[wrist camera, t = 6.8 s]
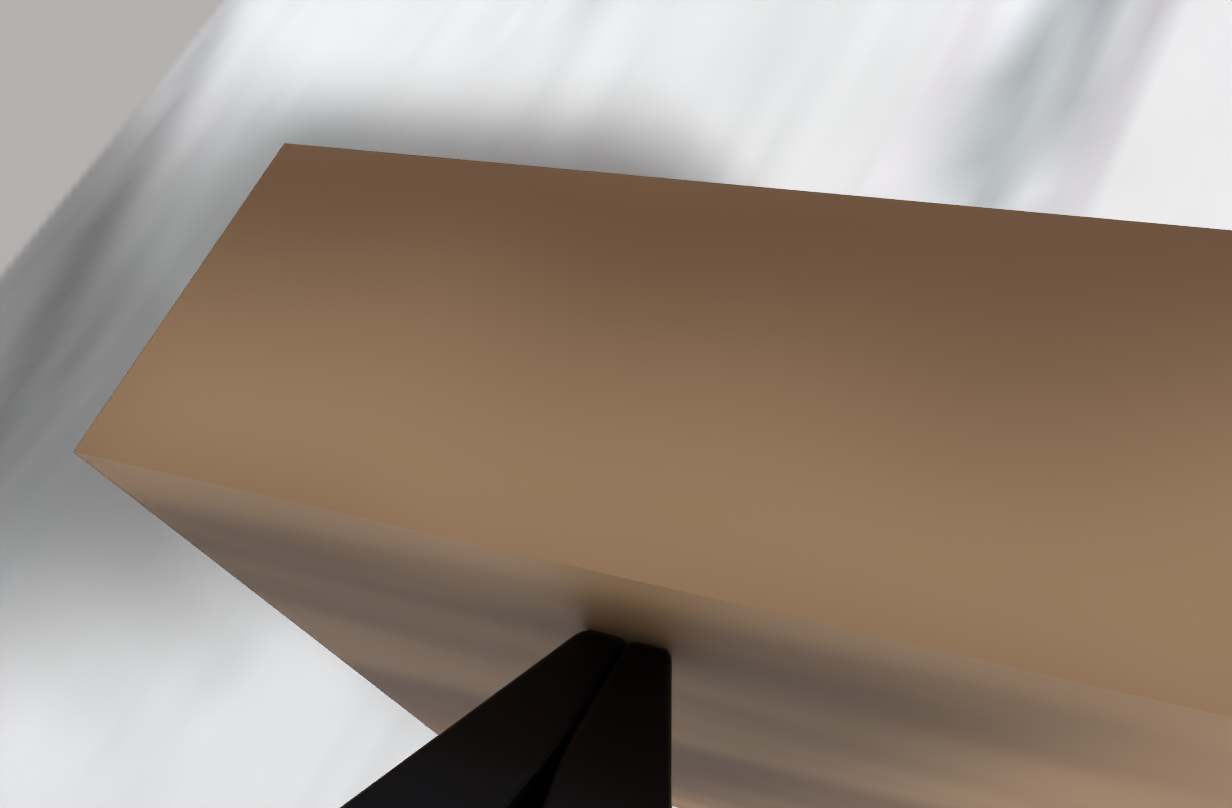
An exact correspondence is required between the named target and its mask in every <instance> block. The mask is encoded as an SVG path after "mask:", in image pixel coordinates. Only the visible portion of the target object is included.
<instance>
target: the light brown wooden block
mask: <svg viewBox="0 0 1232 808" xmlns="http://www.w3.org/2000/svg"><path fill="white" fill-rule="evenodd" d="M74 453H76V454H77V455H78V456H80V457H81V458H82V459H83V460H85V461H86V462H87V463H89V464H90V465H91V466H92V467H94V468H95V469H96V470H98V471H99V472H100V473H101V474H103V475H104V476H105V477H107V478H108V479H109V480H111V481H112V482H113V483H114V484H116V485H117V486H118V487H120V488H121V489H122V490H123V491H125V492H126V493H127V494H129V495H130V496H131V497H132V498H134V499H135V500H136V501H138V502H139V503H140V504H141V505H143V506H144V507H145V508H147V509H148V510H149V511H150V512H152V513H153V514H154V515H156V516H157V517H158V518H159V519H161V520H162V521H163V522H165V523H166V524H167V525H168V526H170V527H171V528H172V529H174V530H175V531H176V532H177V533H179V534H180V535H181V536H183V537H184V538H185V539H187V540H188V541H189V542H190V543H192V544H193V545H194V546H196V547H197V548H198V549H199V550H201V551H202V552H203V553H205V554H206V555H207V556H208V557H210V558H211V559H212V560H214V561H215V562H216V563H217V564H219V565H220V566H221V567H223V568H224V569H225V570H226V571H228V572H229V573H230V574H232V575H233V576H234V577H235V578H237V579H238V580H239V581H241V582H242V583H243V584H244V585H246V586H247V587H248V588H250V589H251V590H252V591H254V592H255V593H256V594H257V595H259V596H260V597H261V598H263V599H264V600H265V601H266V602H268V603H269V604H270V605H272V606H273V607H274V608H275V609H277V610H278V611H279V612H281V613H282V614H283V615H284V616H286V617H287V618H288V619H290V620H291V621H292V622H293V623H295V624H296V625H297V626H299V627H300V628H301V629H302V630H304V631H305V632H306V633H308V634H309V635H310V636H311V637H313V638H314V639H315V640H317V641H318V642H319V643H320V644H322V645H323V646H324V647H326V648H327V649H328V650H330V651H331V652H332V653H333V654H335V655H336V656H337V657H339V658H340V659H341V660H342V661H344V662H345V663H346V664H348V665H349V666H350V667H351V668H353V669H354V670H355V671H357V672H358V673H359V674H360V675H362V676H363V677H364V678H366V679H367V680H368V681H369V682H371V683H372V684H373V685H375V686H376V687H377V688H378V689H380V690H381V691H382V692H384V693H385V694H386V695H387V696H389V697H390V698H391V699H393V700H394V701H395V702H396V703H398V704H399V705H400V706H402V707H403V708H404V709H406V710H407V711H408V712H409V713H411V714H412V715H413V716H415V717H416V718H417V719H418V720H420V721H421V722H422V723H424V724H425V725H426V726H427V727H429V728H430V729H431V730H433V731H434V732H435V733H436V734H438V735H439V734H441V733H442V732H443V731H445V730H446V729H447V728H449V727H450V726H452V725H453V724H454V723H456V722H457V721H458V720H460V719H461V718H462V717H464V716H465V715H466V714H468V713H469V712H471V711H472V710H473V709H475V708H476V707H477V706H479V705H480V704H481V703H483V702H484V701H485V700H487V699H488V698H490V697H491V696H492V695H494V694H495V693H496V692H498V691H499V690H500V689H502V688H503V687H504V686H506V685H507V684H509V683H510V682H511V681H513V680H514V679H515V678H517V677H518V676H519V675H521V674H522V673H523V672H525V671H526V670H527V669H529V668H530V667H532V666H533V665H534V664H536V663H537V662H538V661H540V660H541V659H542V658H544V657H545V656H546V655H548V654H549V653H551V652H552V651H553V650H555V649H556V648H557V647H559V646H560V645H561V644H563V643H564V642H565V641H567V640H568V639H570V638H571V637H572V636H574V635H575V634H577V633H579V632H581V631H592V632H596V633H600V634H604V635H608V636H612V637H616V638H619V639H621V640H623V641H624V642H625V644H626V645H627V644H629V643H631V642H636V643H640V644H644V645H648V646H652V647H656V648H660V649H664V650H667V651H668V652H669V653H670V654H671V656H672V806H675V807H679V808H1232V230H1221V229H1210V228H1199V227H1189V226H1178V225H1167V224H1156V223H1145V222H1134V221H1123V220H1112V219H1102V218H1091V217H1080V216H1069V215H1058V214H1047V213H1036V212H1025V211H1014V210H1004V209H993V208H982V207H971V206H960V205H949V204H938V203H927V202H917V201H906V200H895V199H884V198H873V197H862V196H851V195H840V194H829V193H819V192H808V191H797V190H786V189H775V188H764V187H753V186H742V185H732V184H721V183H710V182H699V181H688V180H677V179H666V178H655V177H645V176H634V175H623V174H612V173H601V172H590V171H579V170H568V169H557V168H547V167H536V166H525V165H514V164H503V163H492V162H481V161H470V160H460V159H449V158H438V157H427V156H416V155H405V154H394V153H383V152H372V151H362V150H351V149H340V148H329V147H318V146H307V145H296V144H285V143H284V145H283V146H282V148H281V149H280V151H279V152H278V154H277V155H276V157H275V158H274V159H273V161H272V162H271V164H270V165H269V167H268V168H267V170H266V171H265V173H264V174H263V176H262V177H261V178H260V180H259V181H258V183H257V184H256V186H255V187H254V189H253V190H252V192H251V193H250V195H249V196H248V197H247V199H246V200H245V202H244V203H243V205H242V206H241V208H240V209H239V211H238V212H237V214H236V215H235V216H234V218H233V219H232V221H231V222H230V224H229V225H228V227H227V228H226V230H225V231H224V233H223V234H222V235H221V237H220V238H219V240H218V241H217V243H216V244H215V246H214V247H213V249H212V250H211V251H210V253H209V254H208V256H207V257H206V259H205V260H204V262H203V263H202V265H201V266H200V268H199V269H198V270H197V272H196V273H195V275H194V276H193V278H192V279H191V281H190V282H189V284H188V285H187V287H186V288H185V289H184V291H183V292H182V294H181V295H180V297H179V298H178V300H177V301H176V303H175V304H174V306H173V307H172V308H171V310H170V311H169V313H168V314H167V316H166V317H165V319H164V320H163V322H162V323H161V325H160V326H159V327H158V329H157V330H156V332H155V333H154V335H153V336H152V338H151V339H150V341H149V342H148V344H147V345H146V346H145V348H144V349H143V351H142V352H141V354H140V355H139V357H138V358H137V360H136V361H135V363H134V364H133V365H132V367H131V368H130V370H129V371H128V373H127V374H126V376H125V377H124V379H123V380H122V382H121V383H120V384H119V386H118V387H117V389H116V390H115V392H114V393H113V395H112V396H111V398H110V399H109V401H108V402H107V403H106V405H105V406H104V408H103V409H102V411H101V412H100V414H99V415H98V417H97V418H96V420H95V421H94V422H93V424H92V425H91V427H90V428H89V430H88V431H87V433H86V434H85V436H84V437H83V439H82V440H81V441H80V443H79V444H78V446H77V447H76V449H75V450H74Z"/></svg>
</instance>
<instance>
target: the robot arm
mask: <svg viewBox="0 0 1232 808" xmlns="http://www.w3.org/2000/svg"><path fill="white" fill-rule="evenodd" d="M340 808H672V656H671V654H670V653H669V652H668V651H667V650H664V649H660V648H656V647H652V646H648V645H644V644H640V643H636V642H631V643H629V644H627V645H626V644H625V642H624V641H623V640H621V639H619V638H616V637H612V636H608V635H604V634H600V633H596V632H592V631H581V632H579V633H577V634H575V635H574V636H572V637H571V638H570V639H568V640H567V641H565V642H564V643H563V644H561V645H560V646H559V647H557V648H556V649H555V650H553V651H552V652H551V653H549V654H548V655H546V656H545V657H544V658H542V659H541V660H540V661H538V662H537V663H536V664H534V665H533V666H532V667H530V668H529V669H527V670H526V671H525V672H523V673H522V674H521V675H519V676H518V677H517V678H515V679H514V680H513V681H511V682H510V683H509V684H507V685H506V686H504V687H503V688H502V689H500V690H499V691H498V692H496V693H495V694H494V695H492V696H491V697H490V698H488V699H487V700H485V701H484V702H483V703H481V704H480V705H479V706H477V707H476V708H475V709H473V710H472V711H471V712H469V713H468V714H466V715H465V716H464V717H462V718H461V719H460V720H458V721H457V722H456V723H454V724H453V725H452V726H450V727H449V728H447V729H446V730H445V731H443V732H442V733H441V734H439V735H438V736H437V737H435V738H434V739H433V740H431V741H430V742H428V743H427V744H426V745H424V746H423V747H422V748H420V749H419V750H418V751H416V752H415V753H414V754H412V755H411V756H409V757H408V758H407V759H405V760H404V761H403V762H401V763H400V764H399V765H397V766H396V767H395V768H393V769H392V770H391V771H389V772H388V773H386V774H385V775H384V776H382V777H381V778H380V779H378V780H377V781H376V782H374V783H373V784H372V785H370V786H369V787H367V788H366V789H365V790H363V791H362V792H361V793H359V794H358V795H357V796H355V797H354V798H353V799H351V800H350V801H348V802H347V803H346V804H344V805H343V806H342V807H340Z"/></svg>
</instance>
